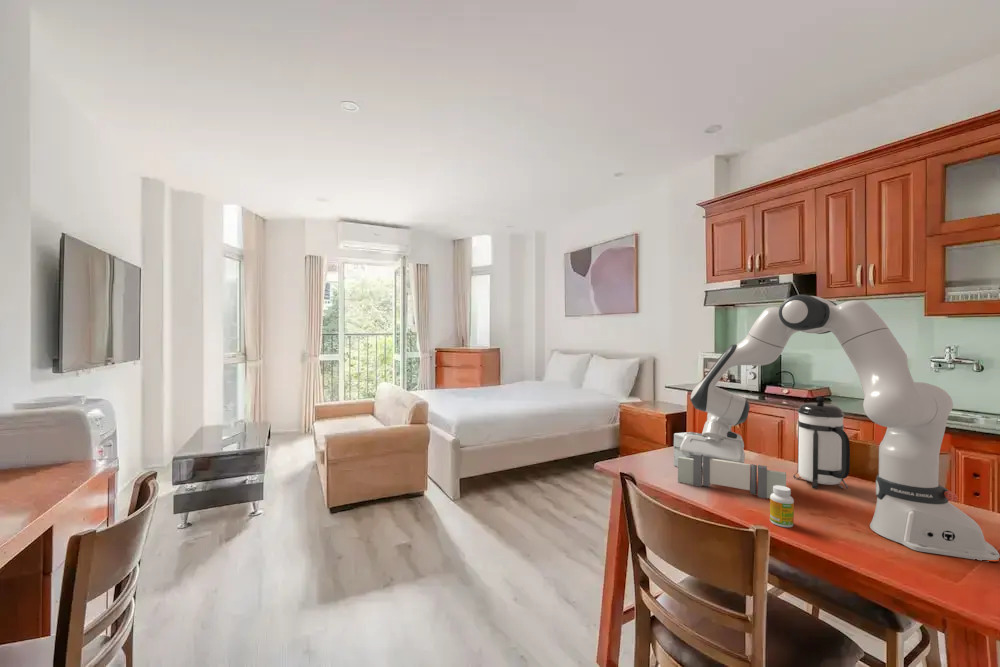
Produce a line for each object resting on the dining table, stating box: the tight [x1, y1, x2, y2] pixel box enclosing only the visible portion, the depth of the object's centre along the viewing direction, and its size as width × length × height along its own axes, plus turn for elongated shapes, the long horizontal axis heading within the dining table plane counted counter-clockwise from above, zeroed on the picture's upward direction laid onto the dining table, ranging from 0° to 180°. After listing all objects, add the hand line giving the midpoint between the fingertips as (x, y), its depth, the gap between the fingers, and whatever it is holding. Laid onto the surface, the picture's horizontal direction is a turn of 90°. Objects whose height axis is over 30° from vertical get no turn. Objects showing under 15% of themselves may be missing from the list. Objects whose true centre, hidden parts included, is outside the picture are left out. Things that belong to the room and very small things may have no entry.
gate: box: [702, 454, 758, 495], centre depth 139 cm, size 15×2×10 cm, turn 58°
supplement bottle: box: [769, 485, 795, 528], centre depth 115 cm, size 5×5×10 cm
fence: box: [677, 453, 787, 500], centre depth 139 cm, size 31×2×10 cm, turn 58°
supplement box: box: [673, 431, 694, 468], centre depth 162 cm, size 7×7×13 cm
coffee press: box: [793, 395, 851, 490], centre depth 144 cm, size 17×16×30 cm
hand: (706, 470), depth 144 cm, fingers closed
